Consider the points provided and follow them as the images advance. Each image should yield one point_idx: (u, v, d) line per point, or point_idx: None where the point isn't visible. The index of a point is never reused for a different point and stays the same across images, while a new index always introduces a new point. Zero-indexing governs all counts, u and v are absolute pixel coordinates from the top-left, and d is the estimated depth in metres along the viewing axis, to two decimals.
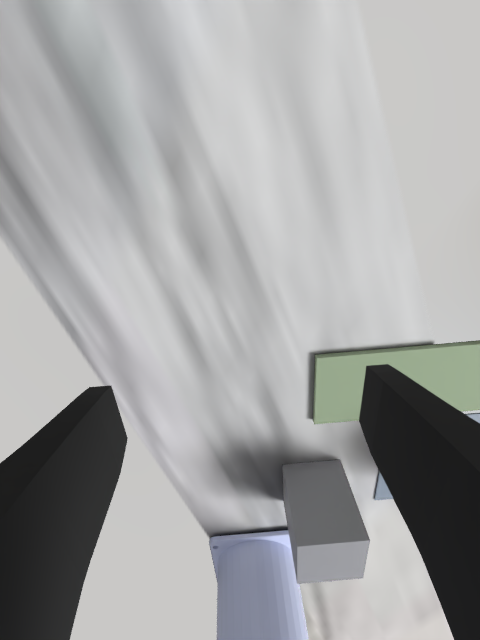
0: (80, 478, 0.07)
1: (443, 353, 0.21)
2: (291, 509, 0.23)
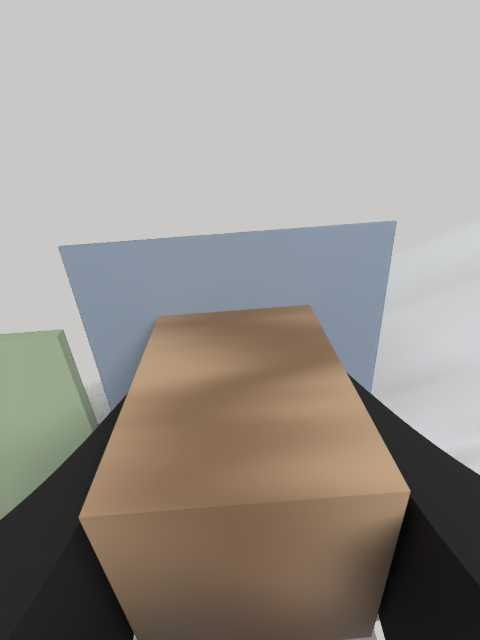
0: None
1: None
2: None
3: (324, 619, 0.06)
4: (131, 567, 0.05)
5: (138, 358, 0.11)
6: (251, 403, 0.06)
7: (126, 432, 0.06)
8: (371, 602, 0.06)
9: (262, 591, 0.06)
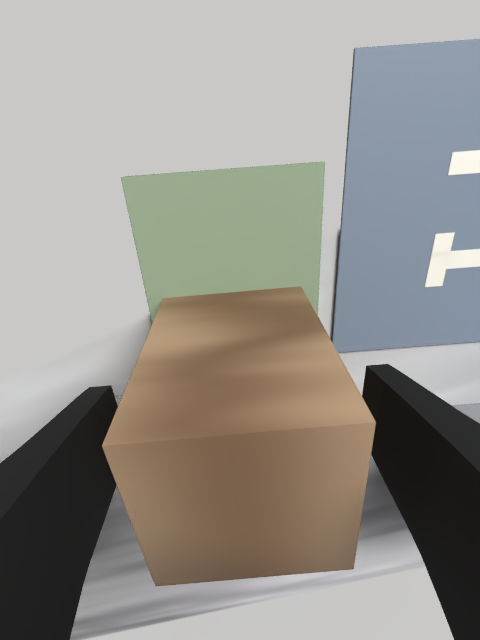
0: (80, 478, 0.07)
1: None
2: None
3: (311, 548, 0.07)
4: (144, 495, 0.06)
5: (385, 202, 0.10)
6: (246, 363, 0.07)
7: (138, 386, 0.07)
8: (351, 532, 0.07)
9: (256, 520, 0.06)
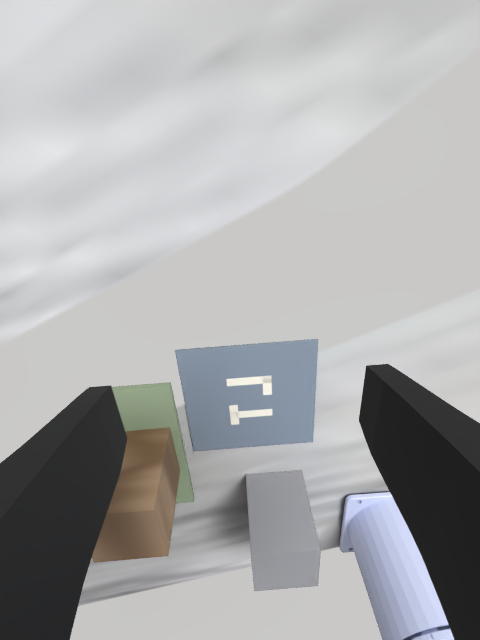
0: (80, 478, 0.07)
1: None
2: None
3: (148, 548, 0.20)
4: None
5: (203, 394, 0.23)
6: (126, 480, 0.20)
7: None
8: (161, 542, 0.19)
9: (125, 538, 0.19)
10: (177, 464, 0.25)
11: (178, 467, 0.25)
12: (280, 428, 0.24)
